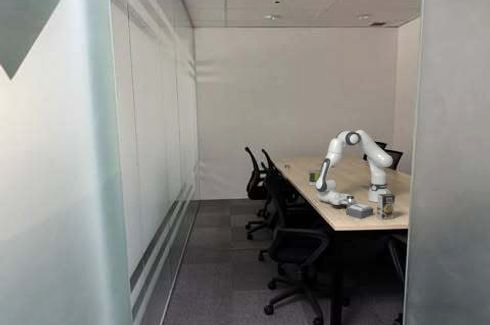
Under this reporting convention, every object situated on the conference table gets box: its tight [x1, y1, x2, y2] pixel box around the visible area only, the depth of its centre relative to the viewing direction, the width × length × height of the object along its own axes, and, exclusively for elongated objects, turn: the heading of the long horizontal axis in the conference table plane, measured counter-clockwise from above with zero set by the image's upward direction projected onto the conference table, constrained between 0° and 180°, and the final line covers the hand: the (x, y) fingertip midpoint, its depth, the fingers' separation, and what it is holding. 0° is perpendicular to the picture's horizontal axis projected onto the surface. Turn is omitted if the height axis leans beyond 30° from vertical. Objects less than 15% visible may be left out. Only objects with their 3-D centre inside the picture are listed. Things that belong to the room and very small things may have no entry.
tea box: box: [308, 169, 321, 186], centre depth 334 cm, size 15×10×15 cm, turn 84°
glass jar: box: [346, 195, 355, 208], centre depth 246 cm, size 5×5×10 cm
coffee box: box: [376, 193, 396, 221], centre depth 225 cm, size 9×6×16 cm
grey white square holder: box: [345, 203, 374, 220], centre depth 234 cm, size 14×12×6 cm
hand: (351, 201), depth 246 cm, fingers open, 6 cm apart
